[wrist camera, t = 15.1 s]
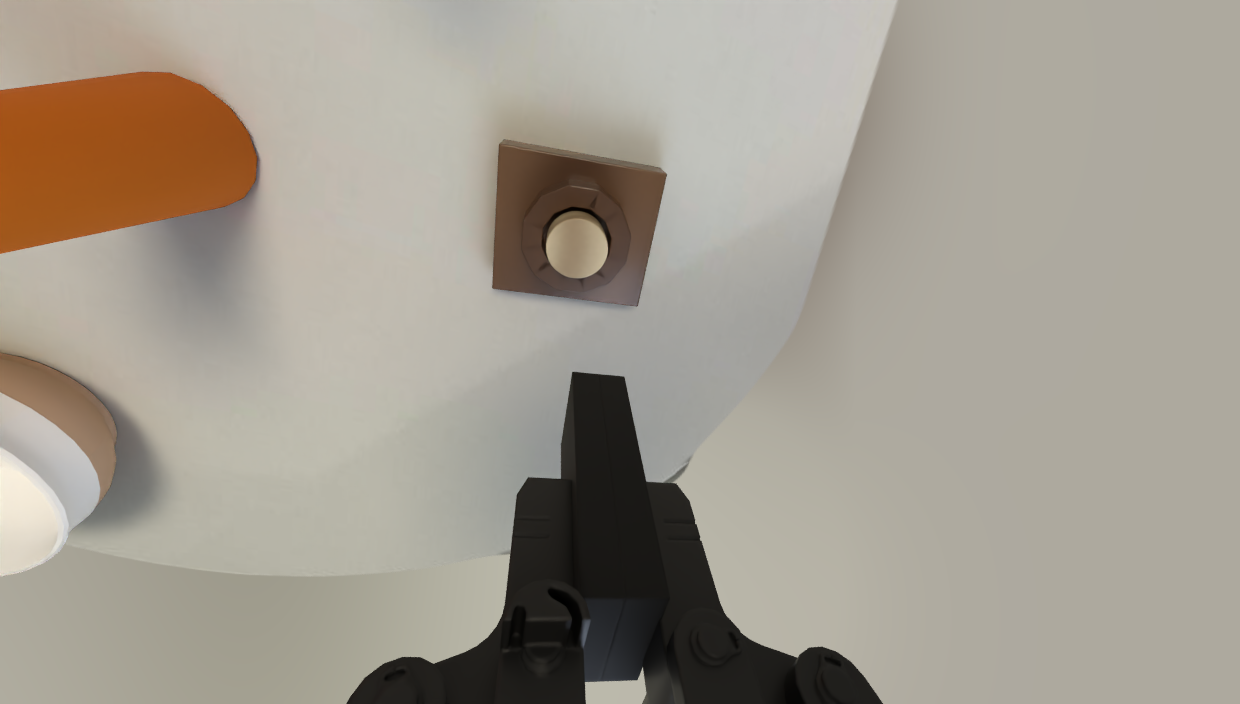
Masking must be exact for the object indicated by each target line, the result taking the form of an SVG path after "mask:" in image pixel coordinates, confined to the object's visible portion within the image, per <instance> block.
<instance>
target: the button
mask: <svg viewBox="0 0 1240 704" xmlns="http://www.w3.org/2000/svg"><path fill="white" fill-rule="evenodd" d="M546 254H547V258H548V260H549V262H550V264H551V265H552V267H553V268H554V269H555V270H556V271H558V272H559V273H560V274H562V275H564V276H567V277H570V278H585V277H588V276H590V275H593V274H594V273H596V272H597V271H598V270H599V269H600V268H601V267H602V266H603V264H604V262H605V261H606V258H607V254H608V243H607V239H606V235H605V232H604V229H603V227H602V225H601V224H600V222H599V221H598V220H597V219H596V218H595V217H593V216H592V215H590V214H588V213H585V212H581V211H570V212H566V213H564V214H562V215H560V216H558V217H557V218H556V219H555V220H554V221H553V222H552V224H551V225H550V227H549V229H548V232H547V239H546Z"/></svg>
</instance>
